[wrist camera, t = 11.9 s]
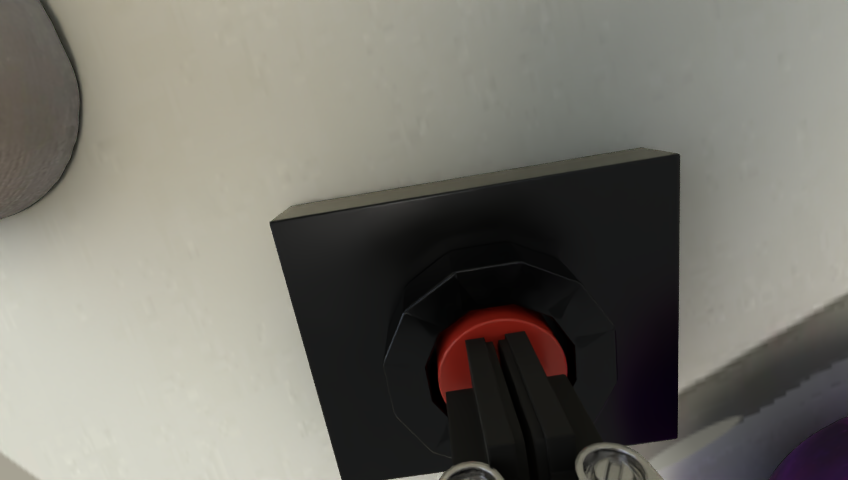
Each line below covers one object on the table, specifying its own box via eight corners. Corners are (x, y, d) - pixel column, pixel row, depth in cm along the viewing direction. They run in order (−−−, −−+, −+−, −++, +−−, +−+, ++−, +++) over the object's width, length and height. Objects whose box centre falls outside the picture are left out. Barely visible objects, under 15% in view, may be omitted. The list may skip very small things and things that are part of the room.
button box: (642, 146, 14) (724, 160, 10) (646, 398, 17) (712, 482, 13) (289, 205, 15) (243, 239, 11) (352, 441, 17) (333, 534, 14)
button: (544, 283, 13) (563, 309, 11) (554, 384, 14) (572, 421, 12) (427, 301, 13) (428, 330, 11) (444, 400, 14) (448, 439, 12)
